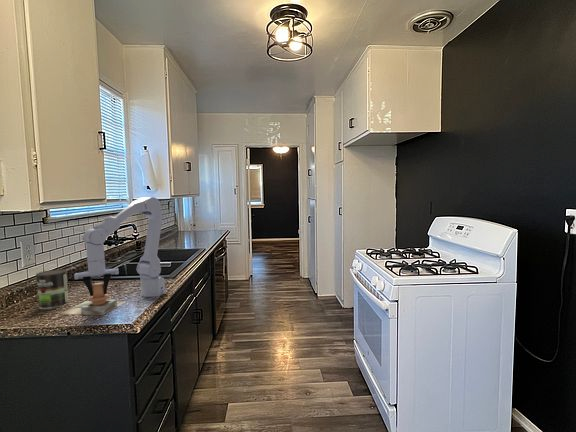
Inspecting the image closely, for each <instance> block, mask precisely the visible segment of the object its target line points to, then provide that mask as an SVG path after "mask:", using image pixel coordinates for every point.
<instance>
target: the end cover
mask: <svg viewBox="0 0 576 432" xmlns="http://www.w3.org/2000/svg"><path fill="white" fill-rule="evenodd" d="M92 292H93V296H89V297H88V301H91V302H92V304H93V306H102V305H104V304H106V299H108V300H109V298H110V295H109V294H108V293H107V294H104V282H95V283H92Z"/></svg>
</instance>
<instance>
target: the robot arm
mask: <svg viewBox="0 0 576 432" xmlns="http://www.w3.org/2000/svg"><path fill="white" fill-rule="evenodd" d="M136 213H141V214H143V215H144V216H145V217H146V218H147V219H148V224H147V229H146V230H147V231H146V239H145V243H144V245H145V246H144V250H143V255H142V256H141V257H139V258H140V259H139V262H138V264H137V266H136V272H137V274H139V278H140V294H141V295H140V296H141V297H147V298H148V297H149V298H150V297H160V296H162V295H163V294H167V292H166V283H165V282H166V281H165V278H164V277H163V276H159V275H161V272H162V266H161V259H160V258H159V256H158V251H159V244H160V238H161V230H162V224H163V213H162V202H160V200H159V199H158V198H157V197H154V196H150V197H143V196H142V197H138V198H136V200H133V201H132V202H131V203H130V204H129V205H127V206H126V207H125V208H123V209H122V210H121V211H120V212H118V213H117V214H116V215H115V216H106V217H104V218H103V220H102V221H101V222H100V223H97V224H95V225H93V228H90V229H89V228H88V229H87V230H85V232H84V234H83V236H82V237H81V238H82V241H83V242H84V243H85V246H86V247H85V248H86V259H87V260H86V261H87V271H83V272H77V273H76V272H75V273H74V280H79V279H82V282H83V284H84V285H85V286H86V288H87V290H88V292H89V295H90V296H89V297H91V296H93V292H92V284H93V278H94V277H95V278H96V277H103V279H102V280H103V283H104V294H108V285H109V283H110V280H111V277H112V275H119V273H120V271H119V268H118V267H117V268H106V260H105V246H104V243H105V242H106V240H107V237H109V236H110V235H111V234H113V233H114V232H115V231H117V230H118V229H120V228H121V224H122V223H123V222H124V221H126V220H127V219H129V218H130V217H132V216H134V215H135V214H136Z"/></svg>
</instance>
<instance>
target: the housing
mask: <svg viewBox="0 0 576 432" xmlns="http://www.w3.org/2000/svg"><path fill="white" fill-rule="evenodd" d="M124 303H126V301H117V299H109V298H108V299H106V304H104V305H102V306H93V304H92V302H91V301H89V300H84V301H83V302H82V303H78V304H77V305H75V306H72V307H70V308H69V309H66V310H64V311H62V312H59V315H92V316H93V315H95V316H104V315H105V314H107V313H109V312H111V311H112V310H114V309H116V308H117V307H120V306H121V305H123V304H124Z"/></svg>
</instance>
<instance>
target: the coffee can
mask: <svg viewBox="0 0 576 432" xmlns="http://www.w3.org/2000/svg"><path fill="white" fill-rule="evenodd" d="M35 278H36V287H37V298H38V309H40V310H52V309H56V308H58V307H60V306H62V305H63V306H64V305H65V304H67V303H69V294H68V293H69V291H68V277H67V269H60V268H57V269H51V270H50V269H49V270H44V271H41V272H37V273H36V274H35Z"/></svg>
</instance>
